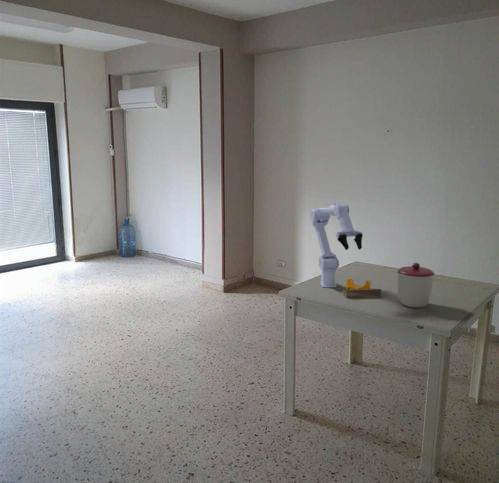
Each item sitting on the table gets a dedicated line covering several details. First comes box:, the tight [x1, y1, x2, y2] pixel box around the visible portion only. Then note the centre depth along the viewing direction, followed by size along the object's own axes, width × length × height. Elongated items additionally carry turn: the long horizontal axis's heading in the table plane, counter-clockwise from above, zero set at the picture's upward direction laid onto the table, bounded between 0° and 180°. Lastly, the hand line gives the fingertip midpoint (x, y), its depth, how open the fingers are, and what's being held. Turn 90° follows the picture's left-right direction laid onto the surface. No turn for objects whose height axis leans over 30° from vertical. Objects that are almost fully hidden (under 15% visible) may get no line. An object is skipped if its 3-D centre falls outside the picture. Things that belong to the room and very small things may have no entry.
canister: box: [395, 262, 436, 309], centre depth 235 cm, size 18×18×21 cm
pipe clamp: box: [345, 277, 372, 291], centre depth 259 cm, size 12×4×6 cm, turn 60°
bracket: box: [342, 288, 382, 299], centre depth 252 cm, size 6×18×4 cm, turn 94°
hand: (353, 248), depth 240 cm, fingers open, 7 cm apart
